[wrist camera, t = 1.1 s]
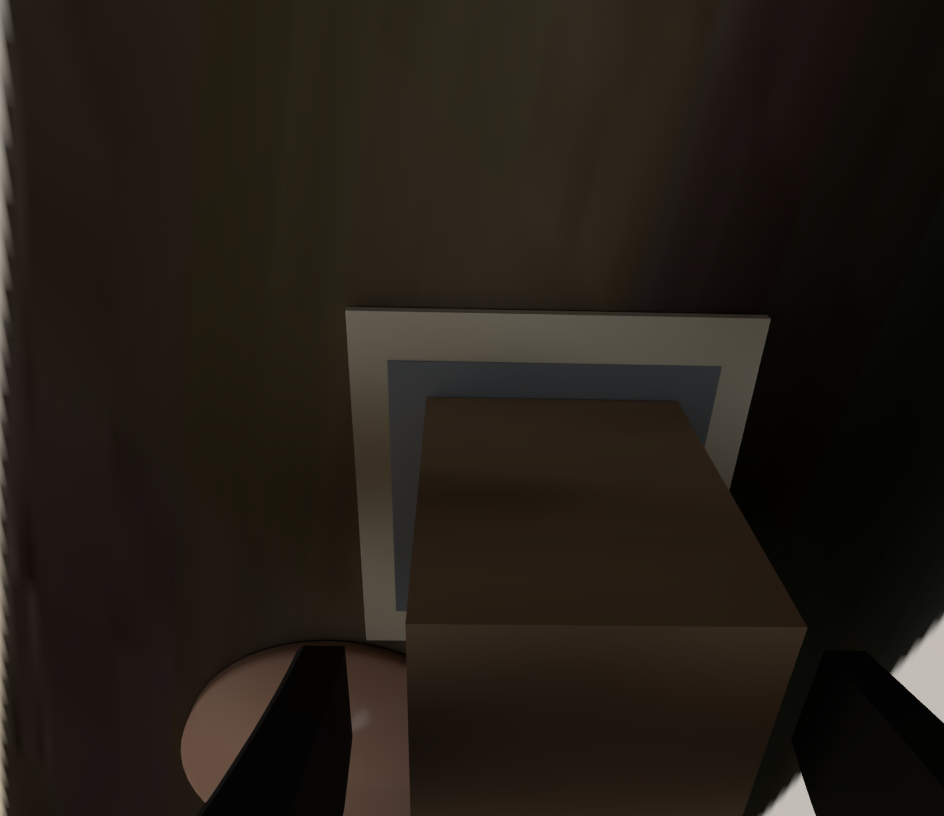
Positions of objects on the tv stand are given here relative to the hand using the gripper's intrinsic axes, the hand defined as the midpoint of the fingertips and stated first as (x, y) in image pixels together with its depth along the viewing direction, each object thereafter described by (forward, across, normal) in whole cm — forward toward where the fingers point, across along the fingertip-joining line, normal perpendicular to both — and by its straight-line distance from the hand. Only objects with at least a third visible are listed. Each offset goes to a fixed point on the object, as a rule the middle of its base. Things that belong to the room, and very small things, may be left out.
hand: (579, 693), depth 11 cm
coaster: (+5, +5, +9) cm, 11 cm away
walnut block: (+5, 0, 0) cm, 5 cm away
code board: (+5, 0, 0) cm, 5 cm away
